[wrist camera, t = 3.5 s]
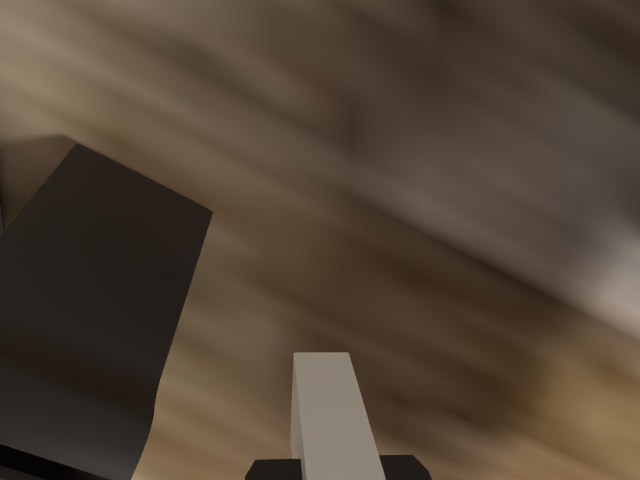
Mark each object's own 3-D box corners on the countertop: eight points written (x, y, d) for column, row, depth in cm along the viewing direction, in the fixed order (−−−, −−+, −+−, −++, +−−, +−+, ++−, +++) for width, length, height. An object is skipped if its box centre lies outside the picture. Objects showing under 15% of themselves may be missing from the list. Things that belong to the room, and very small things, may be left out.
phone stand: (79, 140, 22) (-66, 243, 11) (214, 210, 24) (206, 358, 13) (-10, 320, 24) (-211, 562, 13) (121, 371, 26) (45, 623, 15)
